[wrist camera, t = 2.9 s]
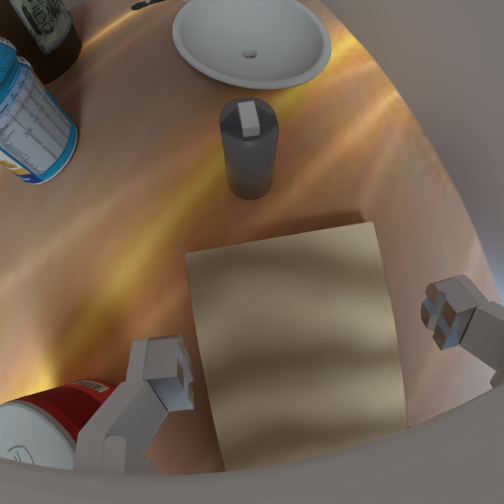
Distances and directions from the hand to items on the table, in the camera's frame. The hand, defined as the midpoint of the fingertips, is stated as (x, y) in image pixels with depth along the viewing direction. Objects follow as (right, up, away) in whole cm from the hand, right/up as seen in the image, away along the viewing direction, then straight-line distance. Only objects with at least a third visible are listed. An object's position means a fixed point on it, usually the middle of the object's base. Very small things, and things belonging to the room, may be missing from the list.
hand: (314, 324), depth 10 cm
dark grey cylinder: (-2, +9, +17) cm, 20 cm away
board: (+2, -7, +14) cm, 16 cm away
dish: (-2, +23, +20) cm, 31 cm away
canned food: (-15, -12, +13) cm, 23 cm away
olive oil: (-28, +27, +21) cm, 45 cm away
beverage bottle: (-23, +13, +18) cm, 32 cm away
